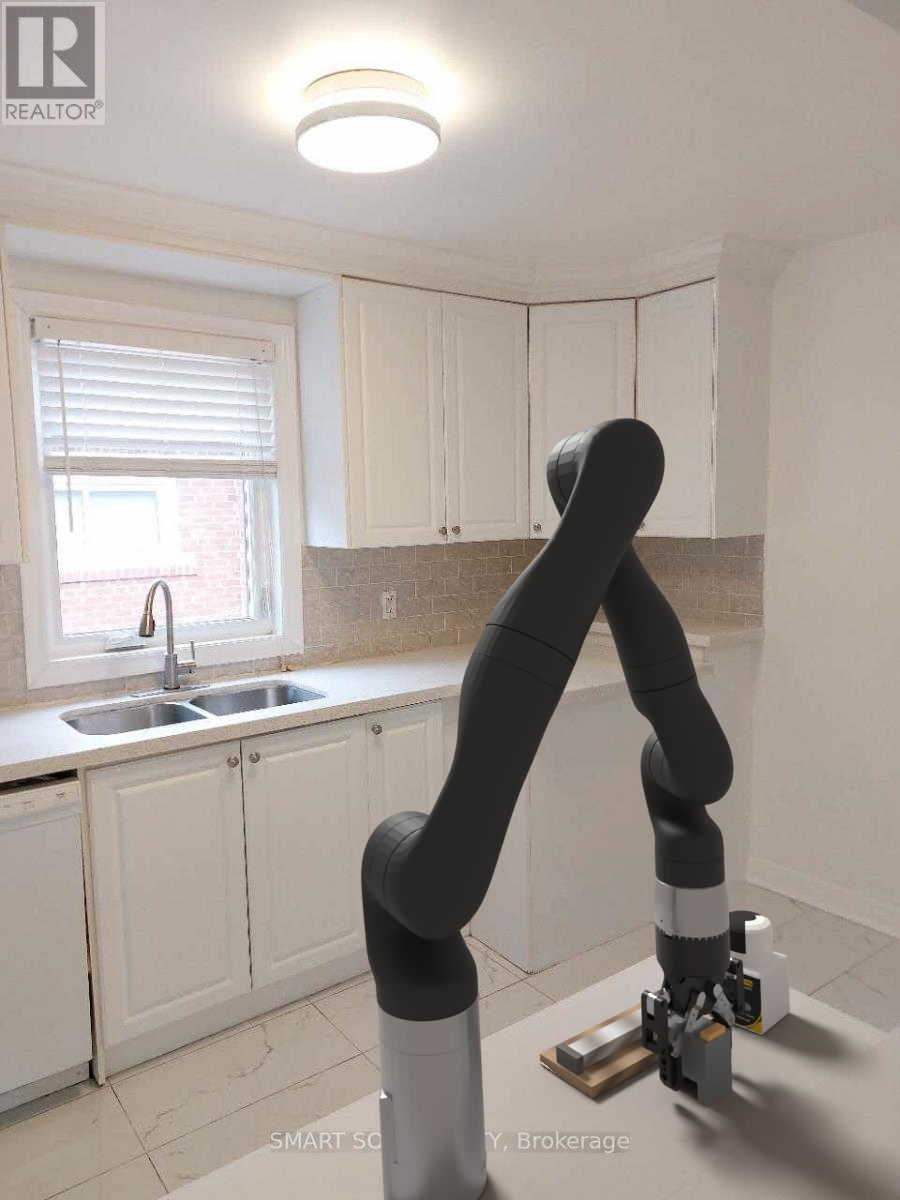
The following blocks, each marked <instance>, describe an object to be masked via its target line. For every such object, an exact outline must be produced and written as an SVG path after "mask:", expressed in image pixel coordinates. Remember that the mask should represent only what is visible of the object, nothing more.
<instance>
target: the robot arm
mask: <svg viewBox="0 0 900 1200" xmlns="http://www.w3.org/2000/svg"><path fill="white" fill-rule="evenodd" d="M665 462H666V459H665V450H664V447H663V444H662V440H661V439H660V436H659V434H657V432H656V431H655V429H654V428H653V427H651V426H650V424H648V423H647V422H644V421H642V420H640V419H636V418H631V417H624V418H623V417H621V418H615V419H614V418H613V419H610V420H605V421H602V422H599V423H598V424H595V425H592V426H590V427H587V428H584V429H582V430H579V431H577V432H575V433H572V434H571V435H568V436H566V437H564V438H563V439H562V440H560V441H559V442H558V443H557V444H556V445H555V446H554V447H553V449H552V450H551V452H550V454H549V456H548V459H547V463H546V475H545V476H546V483H547V487H548V490H549V491H548V492H549V494H550V496H551V499H552V502H553V503H554V506H555V509H556V510H557V512H558V515H559V517H560V520H559V522H558V523H557V526H556V528H555V530H554V531H553V533H552V534H551V536H550V538H549V539H548V541H547V542H546V544H545V545H544V546H543V548H542V549H541V550H540V552H539V553H538V554H537V555H536V556H535V557H534V558H533V560H532V561H531V562H530V563H529V564H528V566H526V568H525V569H524V570H523V571H522V573H520V575H519V576H518V577H517V578H516V580H515V581H514V582H513V583H512V584H511V585H510V587H509V588H508V589H507V591H505V594H504V595H503V596H502V597H501V599H500V600H498V601H499V602H498V603H497V604H496V605H495V607H494V609H493V610H492V612H491V613H490V615H489V616H488V619H487V620H486V624H485V625H484V627H483V630H482V632H481V633H480V636H479V638H478V640H477V642H476V644H475V646H474V649H473V651H472V653H471V656H470V657H469V661H468V663H467V665H466V668H465V671H464V675H463V679H462V683H461V688H460V696H459V702H458V703H459V705H458V716H457V732H456V733H457V734H456V744H455V750H454V754H453V759H452V761H451V762H452V763H451V765H450V769H449V773H448V774H447V776H446V780H445V782H444V784H443V787H442V788H441V791H440V793H439V794H438V797H437V799H436V801H435V804H434V805H433V807H432V810H431V812H430V814H428V813H425V812H420V811H416V810H412V811H411V810H406V811H402V812H401V811H400V812H397V813H395V814H392V815H390V816H388V817H387V818H385V819H384V820H382V821H381V822H380V823H379V824H378V825H377V826H376V827H375V828H374V830H373V831H372V833H371V835H370V836H369V837H368V839H367V842H366V844H365V847H364V849H363V853H362V860H361V869H360V886H361V888H360V889H361V900H362V904H361V905H362V912H363V914H362V917H363V924H364V925H363V926H364V937H365V948H366V954H367V961H368V964H369V967H370V970H371V973H372V976H373V979H374V985H375V994H376V995H375V996H376V1011H377V1012H376V1013H377V1028H378V1029H377V1030H378V1050H379V1052H378V1053H379V1069H380V1070H379V1071H380V1090H379V1097H378V1098H379V1099H378V1109H379V1128H380V1130H379V1131H380V1148H381V1150H380V1151H381V1165H382V1170H381V1171H382V1186H383V1187H382V1188H383V1200H479V1198H480V1197H481V1195H482V1194H483V1192H484V1190H485V1188H486V1186H487V1177H488V1175H487V1174H488V1173H487V1172H488V1170H487V1163H488V1162H487V1149H486V1127H485V1109H484V1108H485V1107H484V1084H483V1066H482V1064H483V1062H482V1043H481V1040H482V1039H481V1022H480V1021H481V1020H480V1019H481V1018H480V1001H479V977H478V975H479V973H478V968H477V963H476V961H475V958H474V956H473V955H472V953H471V951H470V949H469V947H468V945H467V943H466V941H465V940H464V937H463V935H462V932H461V930H463V929H464V927H465V926H467V925H468V924H469V923H470V921H471V920H472V919H473V918H474V916H476V914H477V912H478V911H479V909H480V908H481V906H482V905H483V902H484V900H485V898H486V895H487V893H488V891H489V887H490V886H491V883H492V879H493V877H494V874H495V871H496V867H497V866H498V865H497V864H498V861H499V858H500V855H501V852H502V847H503V844H504V842H505V839H506V835H507V833H508V828H509V826H510V823H511V819H512V817H513V813H514V811H515V808H516V805H517V802H518V800H519V796H520V793H521V791H522V789H523V786H524V785H525V781H526V779H527V776H528V774H529V772H530V771H531V770H530V769H531V767H532V766H533V762H534V760H535V758H536V755H537V752H538V750H539V748H540V745H541V743H542V741H543V738H544V736H545V733H546V731H547V728H548V726H549V724H550V721H551V720H552V718H553V715H554V713H555V711H556V709H557V707H558V705H559V703H560V700H561V699H562V696H563V694H564V691H565V690H566V687H567V685H568V682H569V680H570V677H571V676H572V673H573V671H574V669H575V666H576V665H577V661H578V658H579V656H580V653H581V650H582V648H583V646H584V642H585V640H586V638H587V636H588V634H589V631H590V629H591V627H592V625H593V623H594V620H595V618H596V616H597V614H598V612H599V609H600V608H602V611H603V613H604V616H605V619H606V621H607V623H608V627H609V629H610V632H611V636H612V638H613V641H614V644H615V649H616V651H617V655H618V659H619V663H620V666H621V668H622V672H623V676H624V678H625V682H626V685H627V689H628V693H629V695H630V699H631V701H632V703H633V706H634V708H635V709H636V710H637V712H638V713H640V714H641V715H642V716H643V717H644V718H646V719H647V720H648V722H649V723H650V725H651V727H652V728H653V731H652V733H650V734H649V735H648V737H647V738H646V740H645V742H644V745H643V747H642V751H641V755H640V779H641V786H642V789H643V793H644V798H645V803H646V807H647V812H648V816H649V819H650V822H651V825H652V830H653V835H654V869H655V884H654V894H653V896H654V898H653V902H654V903H653V905H654V907H653V908H654V935H655V957H656V961H657V963H658V964H659V967H660V968H661V970H662V972H663V980H662V983H661V988H660V989H659V990H656V991H655V992H652V991H651V990H650V991H649V990H647V989H645V990H643V991H642V992H641V995H640V1003H641V1018H642V1046H643V1048H645V1049H647V1050H649V1051H651V1052H653V1053H655V1054H656V1055H658V1056H659V1061H658V1068H659V1069H658V1071H659V1073H658V1074H659V1075H658V1076H659V1080H660V1082H661V1083H662V1084H663V1086H665V1087H667V1088H668V1089H671V1090H672V1091H673V1092H679V1091H680V1090H682V1089H683V1086H684V1085H683V1079H682V1056H681V1055H680V1052H681V1049H682V1046H683V1043H684V1040H685V1037H686V1036H690V1035H691V1033H692V1030H693V1027H694V1024H695V1021H697V1020H699V1019H700V1018H701V1017H702V1016H708V1015H709V1016H710V1017H711V1018H710V1019H711V1021H713V1022H715V1023H719V1024H721V1025H724V1026H725V1028H727V1029H729V1030H730V1033H731V1051H733V1035H732V1032H733V1029H732V1026H734V1022H735V1015H736V1014H737V1013H739V1014H742V1013H743V1012H744V1010H745V996H744V975H743V962H742V960H740V959H737V958H735V957H732V956H730V932H729V912H730V909H729V907H730V906H729V896H728V891H727V885H726V872H725V871H726V870H725V865H726V864H725V844H724V836H723V834H722V831H721V828H720V827H719V825H718V824H717V823H716V822H715V821H714V820H713V819H712V817H711V816H710V814H709V812H708V810H707V808H706V806H707V805H709V806H710V805H712V804H715V803H717V802H719V801H721V800H722V799H723V798H724V797H725V796H726V794H727V793H728V792H729V789H730V788H731V786H732V784H733V783H732V782H733V779H734V770H735V769H734V765H735V764H734V757H733V753H732V750H731V749H732V748H731V746H730V744H729V741H728V739H727V737H726V734H725V732H724V730H723V728H722V726H721V724H720V722H719V720H718V718H717V716H716V714H715V712H714V710H713V709H712V706H711V705H710V703H709V701H708V700H707V698H706V696H705V695H704V693H703V691H702V689H701V687H700V685H699V679H698V675H697V671H696V668H695V665H694V664H695V663H694V661H693V658H692V657H693V656H692V654H691V650H690V647H689V644H688V641H687V637H686V634H685V632H684V628H683V626H682V624H681V622H680V620H679V618H678V616H677V614H676V612H675V610H674V609H673V607H672V606H671V604H670V602H669V600H667V598H666V597H665V595H664V594H663V593H662V591H661V590H660V588H659V587H658V585H657V584H656V582H655V581H654V580H653V579H652V577H651V575H650V574H649V573H648V571H647V569H646V568H645V566H644V565H643V563H642V561H641V560H640V557H639V555H638V554H637V552H636V549H635V548H634V544H633V543H632V542H633V539H634V537H635V536H636V534H637V532H638V531H639V528H640V527H641V526H642V524H643V522H644V520H645V519H646V517H647V515H648V514H649V512H650V510H651V507H652V506H653V504H654V502H655V500H656V498H657V496H658V495H659V492H660V489H661V487H662V484H663V480H664V475H665V469H666V467H665V466H666V465H665V464H666V463H665ZM729 990H731V991H733V993H734V999H733V998H731V997H730V996H729ZM672 1010H673V1011H674V1013H675V1014H676V1015H677V1016H679V1017H681V1018H683V1019H684V1020H683V1022H682V1023H677V1022H675V1021H673V1020H672V1018H671V1013H672ZM671 1028H673V1029H674V1030H675V1034H674V1037H673V1040H672V1042H671V1041H669V1040H668V1034H669V1031H670V1029H671ZM653 1032H655V1033H656V1038H653ZM732 1053H733V1052H731V1058H732V1057H733V1056H732Z"/></svg>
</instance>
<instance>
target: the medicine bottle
mask: <svg viewBox="0 0 900 1200" xmlns="http://www.w3.org/2000/svg"><path fill="white" fill-rule="evenodd" d="M729 932H730V956H732V957H735V958H737V959H740V960H742V962H743V975H744V996H745V1010H744V1012H743V1013H742V1014H739V1013H737V1014H736V1015H735V1022H734V1024H733V1026H736V1027H740V1028H742V1029H744V1030H747V1031H748V1032H749V1031H750V1032H753V1033H754V1034H757V1035H759V1036H762V1035H764V1034H765V1033H766V1032H767V1031H769V1030H770V1029H771V1028H772V1027H773V1026H775V1025H776V1024H777V1023H778V1022H779V1021H781V1020H782V1019H783V1018H784V1017H787V1015H788V1014H789V1013H790V1010H791V1007H790V1006H791V1003H790V977H789V976H790V975H789V972H790V970H789V958H788V956H787V955H785V954H782V953H779V952H776V951H774V942H773V941H774V940H773V939H774V937H773V936H774V935H773V923H772V921H770V919H769V918H768V917H766V916H765V915H762V914H760V913H758V912H755V911H751V910H733V911H729ZM729 996H730V997H731V998H733V999H734V993H733V991H731V990H729Z"/></svg>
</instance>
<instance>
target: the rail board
mask: <svg viewBox="0 0 900 1200" xmlns="http://www.w3.org/2000/svg"><path fill="white" fill-rule="evenodd" d="M674 1015H676V1014H675V1013H674V1011H673V1010H672V1013H671V1017H672V1016H674ZM703 1017H705V1018H707V1019H709V1020H711V1019H712V1018H710V1017H707V1015H703ZM653 1038H656V1033H655V1032H653ZM540 1061H541V1062H543V1063H544V1064H545V1065H547V1066H548V1067H549V1068H550V1069H551V1070H552V1071H553V1072H555V1073H556V1074H557V1075H556V1074H555V1073H554V1074H555V1075H556V1076H558V1075H559V1076H560V1078H561V1079H562V1080H563V1081H566V1083H568V1084H570V1085H571V1086H573V1088H575V1089H577V1090H579V1091H580V1092H582V1093H583V1094H584V1095H586V1096H588V1097H589V1098H591V1099H594V1098H596V1097H597V1096H600V1095H601V1094H602V1093H605V1092H606V1091H607V1090H610V1089H611V1088H613V1087H615V1086H616V1085H618V1084H620V1083H622V1082H623V1081H625V1080H627V1079H629V1078H631V1077H633V1076H634V1075H637V1074H638V1073H639V1072H642V1071H643V1070H644V1069H647V1068H648V1067H650V1066H651V1065H653V1064H655V1063H657V1062H659V1056H658V1055H656V1054H655V1053H653V1052H651V1051H649V1050H647V1049H645V1048H643V1046H642V1018H641V1002H639V1003H637V1004H636V1005H634V1006H632V1007H630V1008H628V1009H625V1010H624V1011H622V1012H620V1013H618V1014H616V1015H614V1016H612V1017H610V1018H608V1019H606V1020H604V1021H602V1022H599V1023H598V1024H596V1025H594V1026H592V1027H590V1028H588V1029H586V1030H584V1031H582V1032H580V1033H578V1034H576V1035H574V1036H571V1037H570V1038H568V1039H566V1040H564V1041H562V1042H560V1043H558V1044H556V1045H554V1046H552V1047H550V1048H548V1049H546V1050H545V1051H542V1052H540V1053H539V1062H540ZM552 1071H551V1072H552ZM553 1072H552V1073H553ZM559 1076H558V1077H559Z"/></svg>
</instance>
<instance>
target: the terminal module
mask: <svg viewBox="0 0 900 1200" xmlns="http://www.w3.org/2000/svg"><path fill="white" fill-rule="evenodd" d="M703 1016H704V1015H703ZM703 1016H702V1017H701V1018H700V1019H699V1020H697V1021H695V1024H694V1027H693V1030H692V1033H691V1035H690V1036H686V1037H685V1040H684V1043H683V1046H682V1049H681V1052H680V1055H681V1056H682V1080H684V1079H685V1078H688V1079H689V1080H691V1081H692V1082H695V1083H697V1101H698V1103H700V1104H702V1105H704V1106H706V1107H708V1106H710V1105H712V1104H714V1103H715V1102H716V1101H719V1099H721V1098H722V1097H724V1096H726V1095H727V1094H728V1093H730V1092H732V1091H733V1070H732V1069H733V1067H732V1065H733V1063H732V1057H731V1053H732V1050H731V1033H730V1030H729V1029H727V1028H725V1026H724V1025H721V1024H719V1023H715V1022H713V1021H711V1020H709V1019H707V1018H705V1017H703ZM671 1018H672V1020H673V1021H675V1022H677V1023H682V1022H683V1020H684V1019H683V1018H681V1017H679V1016H677V1015H674V1016H672V1017H671ZM674 1034H675V1030H674V1029H673V1028H671V1029H670V1031H669V1034H668V1040H669V1041H671V1042H672V1040H673V1037H674Z"/></svg>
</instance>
